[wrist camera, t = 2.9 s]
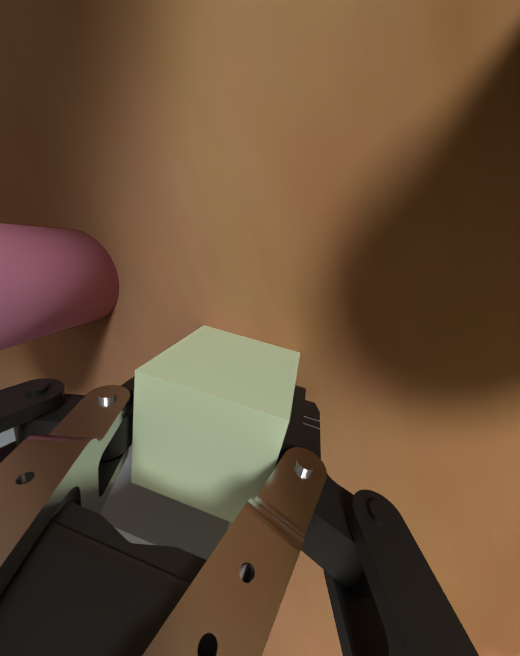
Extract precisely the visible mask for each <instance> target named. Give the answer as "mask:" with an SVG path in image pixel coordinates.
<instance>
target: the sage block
mask: <svg viewBox="0 0 520 656" xmlns="http://www.w3.org/2000/svg"><path fill="white" fill-rule="evenodd" d="M299 357H300V353H299V352H296V351H292V350H289V349H285V348H282V347H278V346H275V345H271V344H268V343H264V342H261V341H257V340H254V339H250V338H247V337H243V336H240V335H236V334H233V333H229V332H226V331H222V330H219V329H215V328H211V327H208V326H202V327H200V328H199V329H197V330H196V331H194V332H193V333H191V334H190V335H188V336H187V337H185V338H184V339H182V340H181V341H179V342H177V343H176V344H174V345H173V346H171V347H170V348H168V349H167V350H165V351H164V352H162V353H161V354H159V355H158V356H156V357H155V358H153V359H151V360H150V361H148V362H147V363H145V364H144V365H142V366H141V367H139V368H138V369H136V370H135V382H134V410H133V439H132V467H131V482H132V483H134V484H137V485H139V486H142V487H144V488H147V489H149V490H152V491H154V492H157V493H159V494H162V495H164V496H167V497H169V498H172V499H174V500H177V501H179V502H182V503H184V504H187V505H189V506H192V507H194V508H197V509H199V510H202V511H204V512H207V513H209V514H212V515H214V516H217V517H219V518H222V519H224V520H227V521H229V522H232V523H233V521H234V520H235V519H236V517H237V516H238V514H239V513H240V511H241V510H242V508H243V507H244V505H245V504H246V503H247V501H248V500H249V499H250V498H253V499H255V498H256V496H257V495H258V494H259V492H260V490H261V489H262V487H263V486H264V484H265V483H266V481H267V480H268V478H269V477H270V475H271V474H272V472H273V471H274V469H275V466H276V462H277V459H278V456H279V453H280V450H281V446H282V443H283V440H284V437H285V434H286V430H287V427H288V424H289V421H290V415H291V408H292V402H293V395H294V389H295V382H296V376H297V369H298V363H299Z"/></svg>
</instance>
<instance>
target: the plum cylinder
mask: <svg viewBox="0 0 520 656" xmlns="http://www.w3.org/2000/svg"><path fill="white" fill-rule="evenodd" d="M118 295H119V280H118V275H117V271H116V268H115V266H114V263H113V261H112V259H111V257H110V256H109V254H108V253H107V251H106V250H105V249H104V247H103V246H102V245H101V244H100V243H99V242H98V241H97V240H95V239H94V238H93V237H91V236H90V235H88V234H86V233H84V232H81V231H78V230H70V229H59V228H49V227H38V226H27V225H16V224H6V223H0V350H1V349H4V348H8V347H11V346H14V345H17V344H20V343H24V342H27V341H30V340H33V339H37V338H40V337H43V336H46V335H50V334H53V333H56V332H59V331H63V330H66V329H69V328H72V327H75V326H79V325H82V324H85V323H88V322H92V321H95V320H98V319H101V318H103V317H105V316H107V315H108V314H109V313H110V312H111V311H112V310H113V308H114V307H115V305H116V302H117V299H118Z"/></svg>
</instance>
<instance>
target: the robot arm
mask: <svg viewBox="0 0 520 656" xmlns="http://www.w3.org/2000/svg"><path fill="white" fill-rule="evenodd" d="M134 382H135V376H134V377H133V378H131V379H130V380H128V381H127V382H125V383H124V384H123V385H121V386H117V385H108V386H102V387H99V388H96V389H94V390H92V391H90V392H89V393H88V394H86V395H74V394H65V393H64V384H63V383H62V382H61V381H59V380H56V379H36V380H31V381H28V382H24V383H21V384H18V385H15V386H11V387H8V388H5V389H2V390H0V433H2V432H4V431H7V430H9V429H11V428H14V434H15V439H16V441H14V442H12V443H9V444H7V445H5V446H3V447H1V448H0V656H262V653H263V651H264V648H265V645H266V642H267V640H268V637H269V634H270V632H271V629H272V626H273V623H274V621H275V618H276V615H277V613H278V610H279V607H280V604H281V602H282V599H283V596H284V594H285V591H286V588H287V585H288V583H289V580H290V577H291V575H292V572H293V569H294V567H295V564H296V561H297V558H298V556H299V553H300V550H302V551H303V552H304V553H305V554H306V555H308V556H309V557H310V558H311V559H312V560H313V561H315V562H316V563H317V564H318V565H319V566H321V567H322V568H323V570H324V575H325V579H326V584H327V588H328V593H329V597H330V601H331V606H332V610H333V614H334V619H335V623H336V627H337V632H338V636H339V640H340V645H341V649H342V654H343V656H479V655H478V653H477V651H476V649H475V648H474V646H473V644H472V642H471V640H470V639H469V637H468V635H467V633H466V631H465V630H464V628H463V626H462V624H461V622H460V621H459V619H458V617H457V615H456V613H455V612H454V610H453V608H452V606H451V604H450V603H449V601H448V599H447V597H446V595H445V594H444V592H443V590H442V588H441V586H440V585H439V583H438V581H437V579H436V577H435V576H434V574H433V572H432V570H431V568H430V566H429V565H428V563H427V561H426V559H425V557H424V556H423V554H422V552H421V550H420V548H419V547H418V545H417V543H416V541H415V539H414V538H413V536H412V534H411V532H410V530H409V529H408V527H407V525H406V523H405V521H404V520H403V518H402V516H401V515H400V513H399V511H398V510H397V509H396V508H395V507H394V505H393V504H392V503H391V502H390V501H388V500H387V499H386V498H385V497H383V496H382V495H380V494H378V493H376V492H374V491H371V490H360V491H358V492H356V493H355V495H353V494H352V493H350V492H348V491H347V490H345V489H344V488H342V487H341V486H339V485H338V484H337V483H335V482H334V481H333V480H332V479H331V478H330V477H329V476H328V474H327V471H326V467H325V465H324V463H323V462H322V460H321V451H320V412H319V410H318V408H317V406H316V404H315V403H313V402H310V401H307V400H305V392H306V389H305V388H302V387H299V386H296V385H295V389H294V395H293V402H292V408H291V415H290V421H289V424H288V427H287V430H286V434H285V437H284V440H283V443H282V446H281V450H280V453H279V456H278V459H277V462H276V466H275V469H274V471H273V472H272V474H271V475H270V477H269V478H268V480H267V481H266V483H265V484H264V486H263V487H262V489H261V490H260V492H259V494H258V495H257V496H256V498H255V499H253V498H250V499H249V500H248V501H247V503H246V504H245V505H244V507H243V508H242V510H241V511H240V513H239V514H238V516H237V517H236V519H235V520H234V521H233V523H232V524H231V526H230V527H229V529H228V530H227V532H226V533H225V535H224V536H223V538H222V539H221V541H220V542H219V544H218V545H217V546H216V548H215V549H214V551H213V552H212V554H211V555H210V557H209V558H208V560H206V559H203V558H201V557H199V556H196V555H194V554H192V553H189V552H187V551H185V550H182V549H180V548H178V547H172V546H160V545H147V544H135V543H131V542H129V541H128V540H126V539H125V538H124V537H123V536H122V535H121V534H120V533H119V532H118V531H117V530H116V529H115V528H114V527H113V526H112V525H111V524H110V523H109V522H108V521H107V520H106V519H105V518H104V517H103V516H102V515H101V511H102V508H103V506H104V503H105V501H106V499H107V497H108V495H109V493H110V491H111V489H112V487H113V485H114V483H115V481H116V479H117V477H118V475H119V473H120V471H121V469H122V467H123V464H124V462H125V460H126V458H127V456H128V452H129V447H130V446H131V445H132V439H133V410H134Z"/></svg>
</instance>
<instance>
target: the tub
mask: <svg viewBox="0 0 520 656" xmlns="http://www.w3.org/2000/svg"><path fill="white" fill-rule="evenodd" d="M14 441H16V439H15V434H14V428H11V429H9V430H7V431H4V432H2V433H0V448H1V447H3V446H5V445H7V444H9V443H12V442H14ZM131 467H132V445H131V446H130V447H129V452H128V456H127V458H126V460H125V462H124V464H123V467H122V469H121V471H120V473H119V475H118V477H117V479H116V481H115V483H114V485H113V487H112V489H111V491H110V493H109V495H108V497H107V499H106V501H105V503H104V506H103V508H102V511H101V515H102V516H103V517H104V518H105V519H106V520H107V521H108V522H109V523H110V524H111V525H112V526H113V527H114V528H115V529H116V530H117V531H118V532H119V533H120V534H121V535H122V536H123V537H124V538H125V539H126V540H128V541H129V542H131V543H135V544H147V545H160V546H172V547H178V548H180V549H182V550H185V551H187V552H189V553H192V554H194V555H196V556H199V557H201V558H203V559H206V560H208V558H209V557H210V555H211V554H212V552H213V551H214V549H215V548H216V546H217V545H218V544H219V542H220V541H221V539H222V538H223V536H224V535H225V533H226V532H227V530H228V529H229V527H230V526H231V524H232V522H229V521H227V520H224V519H222V518H219V517H217V516H214V515H212V514H209V513H207V512H204V511H202V510H199V509H197V508H194V507H192V506H189V505H187V504H184V503H182V502H179V501H177V500H174V499H172V498H169V497H167V496H164V495H162V494H159V493H157V492H154V491H152V490H149V489H147V488H144V487H142V486H139V485H137V484H134V483H132V482H131Z"/></svg>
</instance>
